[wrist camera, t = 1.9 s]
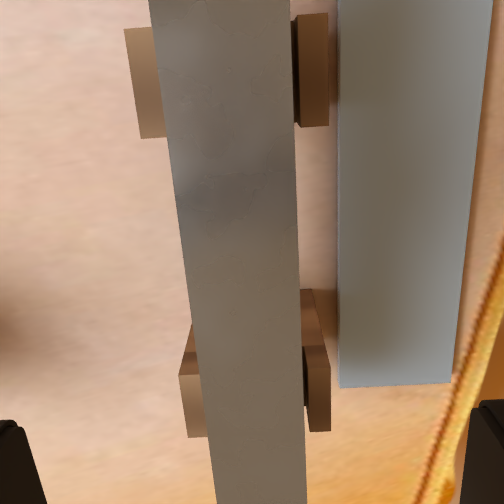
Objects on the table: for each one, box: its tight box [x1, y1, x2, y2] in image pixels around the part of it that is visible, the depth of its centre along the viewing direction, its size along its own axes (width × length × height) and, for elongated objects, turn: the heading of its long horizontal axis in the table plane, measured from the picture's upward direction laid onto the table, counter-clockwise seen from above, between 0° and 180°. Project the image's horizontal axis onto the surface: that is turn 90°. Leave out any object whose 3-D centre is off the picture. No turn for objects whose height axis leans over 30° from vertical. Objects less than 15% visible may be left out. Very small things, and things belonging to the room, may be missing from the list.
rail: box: [148, 0, 307, 504], centre depth 18 cm, size 22×4×4 cm, turn 4°
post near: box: [124, 13, 329, 139], centre depth 19 cm, size 4×7×8 cm, turn 94°
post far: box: [178, 289, 331, 438], centre depth 24 cm, size 4×7×8 cm, turn 94°
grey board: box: [338, 0, 493, 388], centre depth 25 cm, size 24×7×1 cm, turn 4°
